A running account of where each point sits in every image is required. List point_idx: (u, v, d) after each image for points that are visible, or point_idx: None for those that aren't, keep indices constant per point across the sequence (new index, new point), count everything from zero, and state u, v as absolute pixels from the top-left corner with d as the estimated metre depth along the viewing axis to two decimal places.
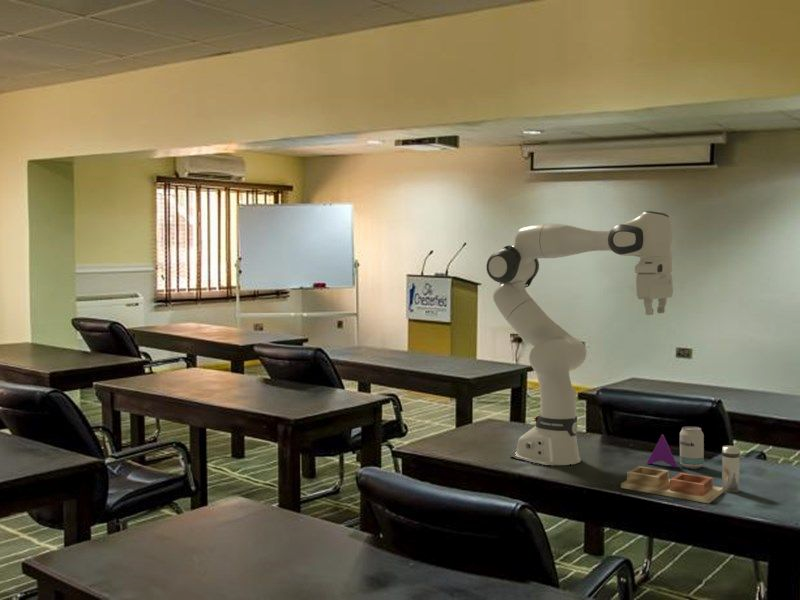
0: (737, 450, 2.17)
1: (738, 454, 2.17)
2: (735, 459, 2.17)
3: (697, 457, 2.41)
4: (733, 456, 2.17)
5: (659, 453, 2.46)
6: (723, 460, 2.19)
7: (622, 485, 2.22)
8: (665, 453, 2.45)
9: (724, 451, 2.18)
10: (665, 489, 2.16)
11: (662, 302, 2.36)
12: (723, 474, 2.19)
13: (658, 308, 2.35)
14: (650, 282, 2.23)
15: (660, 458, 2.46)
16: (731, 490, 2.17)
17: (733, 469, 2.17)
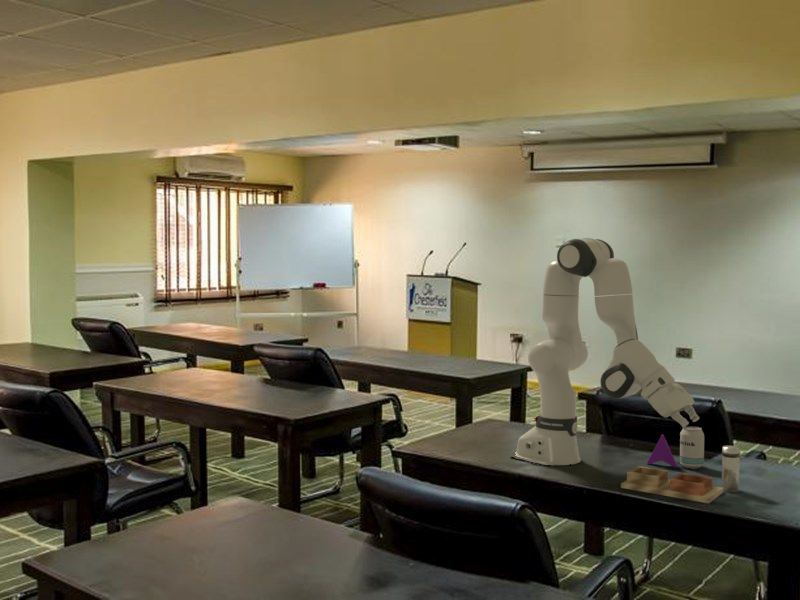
0: (737, 450, 2.17)
1: (738, 454, 2.17)
2: (735, 459, 2.17)
3: (697, 457, 2.41)
4: (733, 456, 2.17)
5: (659, 453, 2.46)
6: (723, 460, 2.19)
7: (622, 485, 2.22)
8: (665, 453, 2.45)
9: (724, 451, 2.18)
10: (665, 489, 2.16)
11: (690, 410, 2.31)
12: (723, 474, 2.19)
13: (691, 417, 2.29)
14: (662, 396, 2.20)
15: (660, 458, 2.46)
16: (731, 490, 2.17)
17: (733, 469, 2.17)
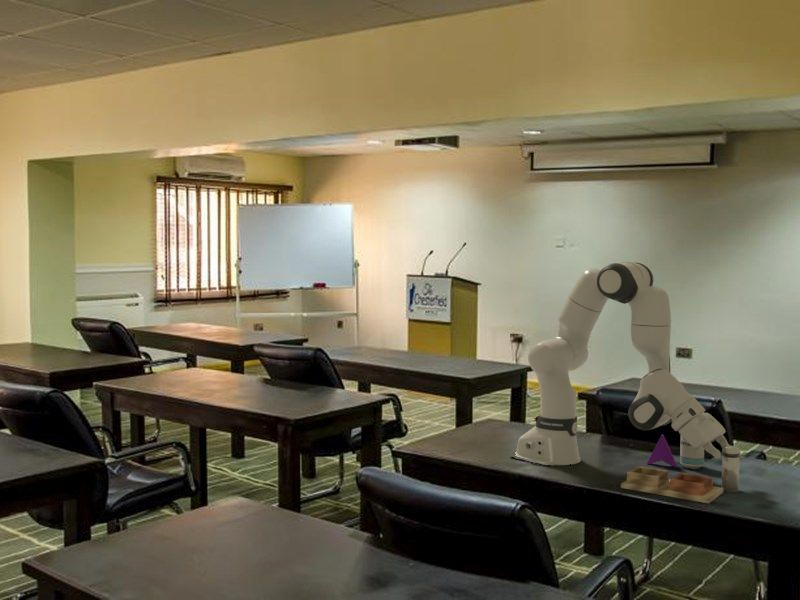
0: (737, 450, 2.17)
1: (738, 454, 2.17)
2: (735, 459, 2.17)
3: (697, 458, 2.41)
4: (733, 456, 2.17)
5: (659, 453, 2.46)
6: (723, 460, 2.19)
7: (622, 485, 2.22)
8: (665, 453, 2.45)
9: (724, 451, 2.18)
10: (665, 489, 2.16)
11: (722, 440, 2.26)
12: (723, 474, 2.19)
13: None
14: (694, 428, 2.15)
15: (660, 458, 2.46)
16: (731, 490, 2.17)
17: (733, 469, 2.17)
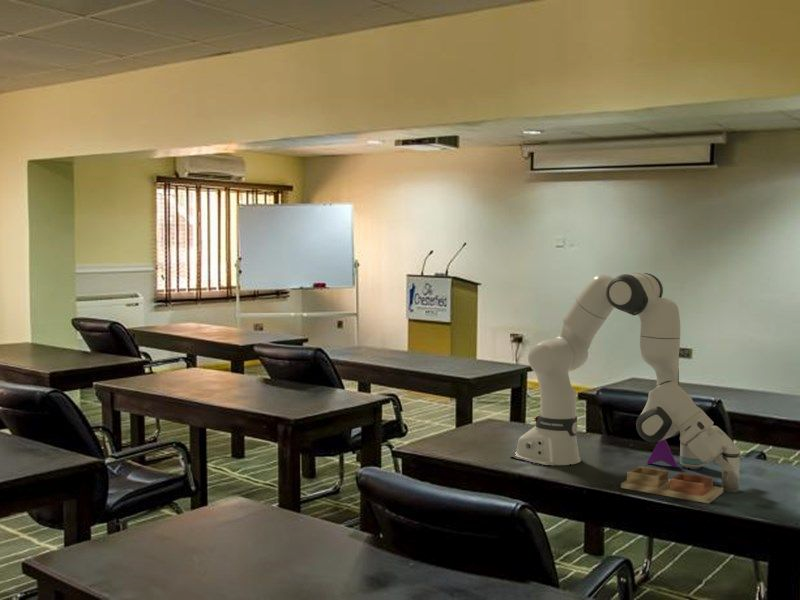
0: (737, 450, 2.17)
1: (738, 454, 2.17)
2: (735, 459, 2.17)
3: (698, 458, 2.41)
4: (733, 456, 2.17)
5: (659, 453, 2.46)
6: None
7: (622, 485, 2.22)
8: (665, 453, 2.45)
9: (724, 451, 2.18)
10: (665, 489, 2.16)
11: None
12: (723, 474, 2.19)
13: None
14: (703, 442, 2.14)
15: (660, 458, 2.46)
16: (731, 490, 2.17)
17: (733, 469, 2.17)
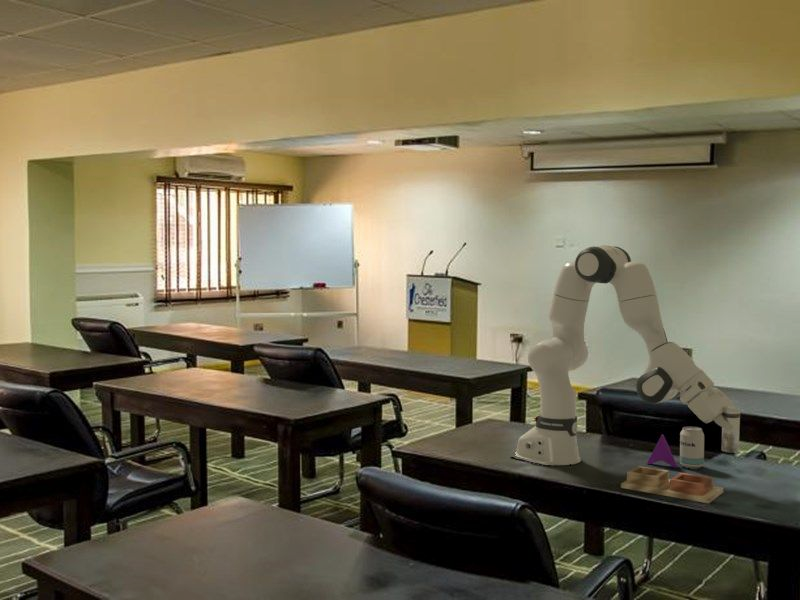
0: (737, 410, 2.17)
1: (738, 414, 2.17)
2: (736, 419, 2.16)
3: (697, 458, 2.41)
4: (733, 416, 2.16)
5: (659, 453, 2.46)
6: None
7: (622, 485, 2.22)
8: (665, 453, 2.45)
9: (724, 411, 2.18)
10: (665, 489, 2.16)
11: None
12: (723, 434, 2.18)
13: None
14: (703, 401, 2.14)
15: (660, 458, 2.46)
16: (731, 450, 2.17)
17: (733, 429, 2.17)
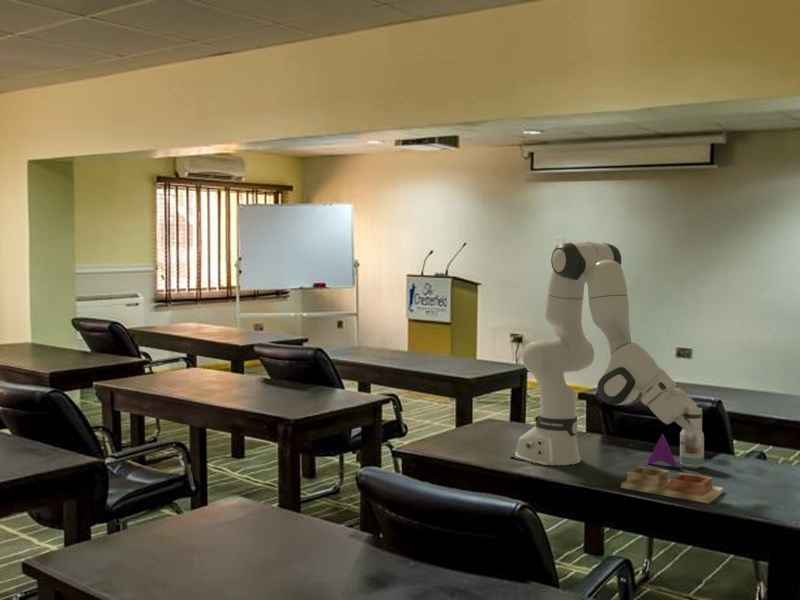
0: (699, 411, 2.13)
1: (700, 415, 2.13)
2: (697, 419, 2.13)
3: (698, 457, 2.41)
4: (695, 417, 2.13)
5: (659, 453, 2.46)
6: None
7: (622, 485, 2.22)
8: (665, 453, 2.45)
9: (686, 412, 2.14)
10: (665, 489, 2.16)
11: None
12: (685, 435, 2.15)
13: None
14: (664, 402, 2.10)
15: (660, 458, 2.46)
16: (693, 451, 2.13)
17: (695, 430, 2.13)
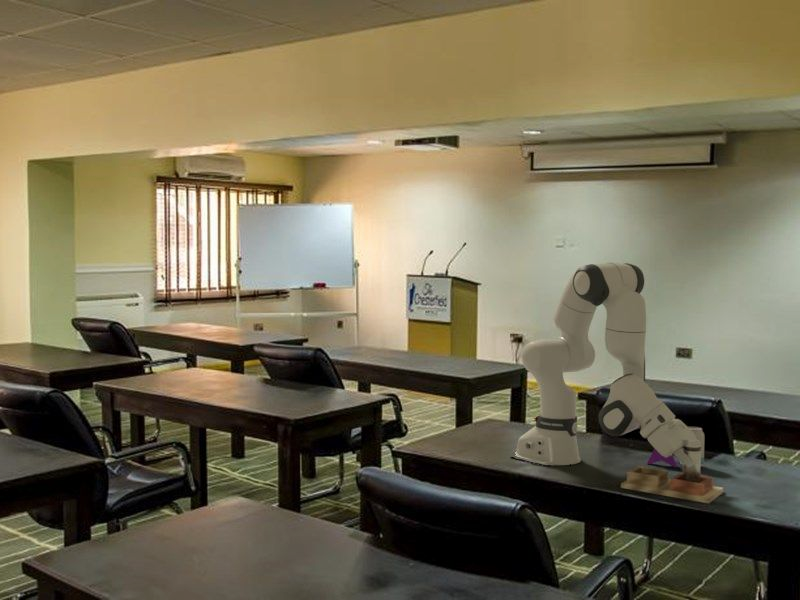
0: (698, 444, 2.13)
1: (699, 448, 2.14)
2: (696, 452, 2.13)
3: None
4: (694, 450, 2.13)
5: (659, 453, 2.46)
6: None
7: (622, 485, 2.22)
8: None
9: (685, 445, 2.15)
10: (665, 489, 2.16)
11: None
12: (684, 468, 2.15)
13: None
14: (662, 435, 2.11)
15: (660, 458, 2.46)
16: None
17: (694, 463, 2.14)
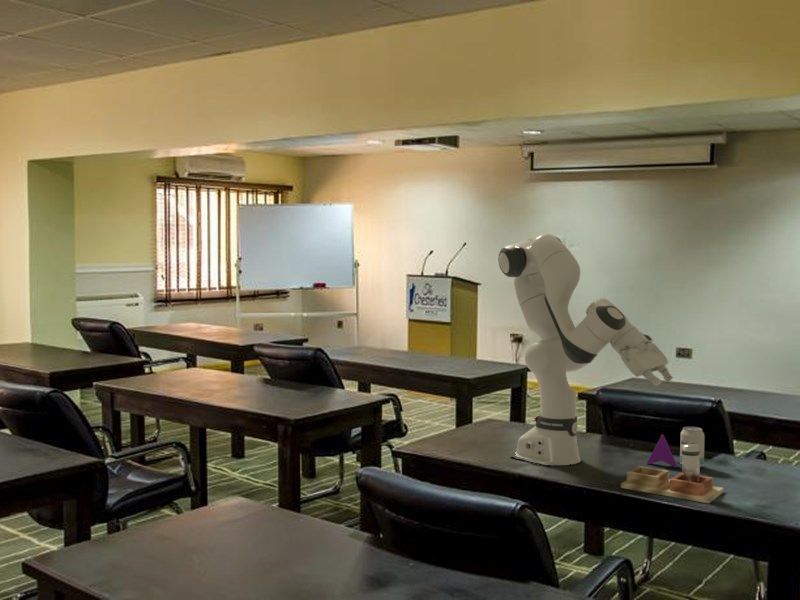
0: (697, 448, 2.14)
1: (698, 452, 2.14)
2: (695, 457, 2.14)
3: None
4: (693, 454, 2.14)
5: (659, 453, 2.46)
6: (683, 459, 2.15)
7: (622, 485, 2.22)
8: (665, 453, 2.45)
9: (684, 449, 2.15)
10: (665, 489, 2.16)
11: None
12: (684, 473, 2.15)
13: None
14: None
15: (660, 458, 2.46)
16: None
17: (693, 467, 2.14)
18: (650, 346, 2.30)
